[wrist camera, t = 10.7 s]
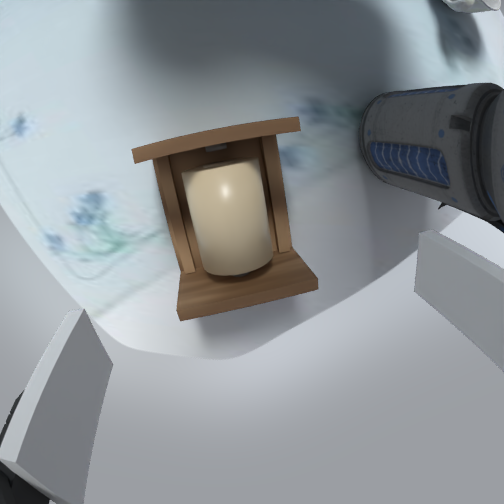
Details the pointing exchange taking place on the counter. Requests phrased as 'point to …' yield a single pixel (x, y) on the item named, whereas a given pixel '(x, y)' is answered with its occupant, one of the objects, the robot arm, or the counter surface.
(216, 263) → the cylinder
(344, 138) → the counter surface
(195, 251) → the holder
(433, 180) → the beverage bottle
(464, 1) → the teacup
